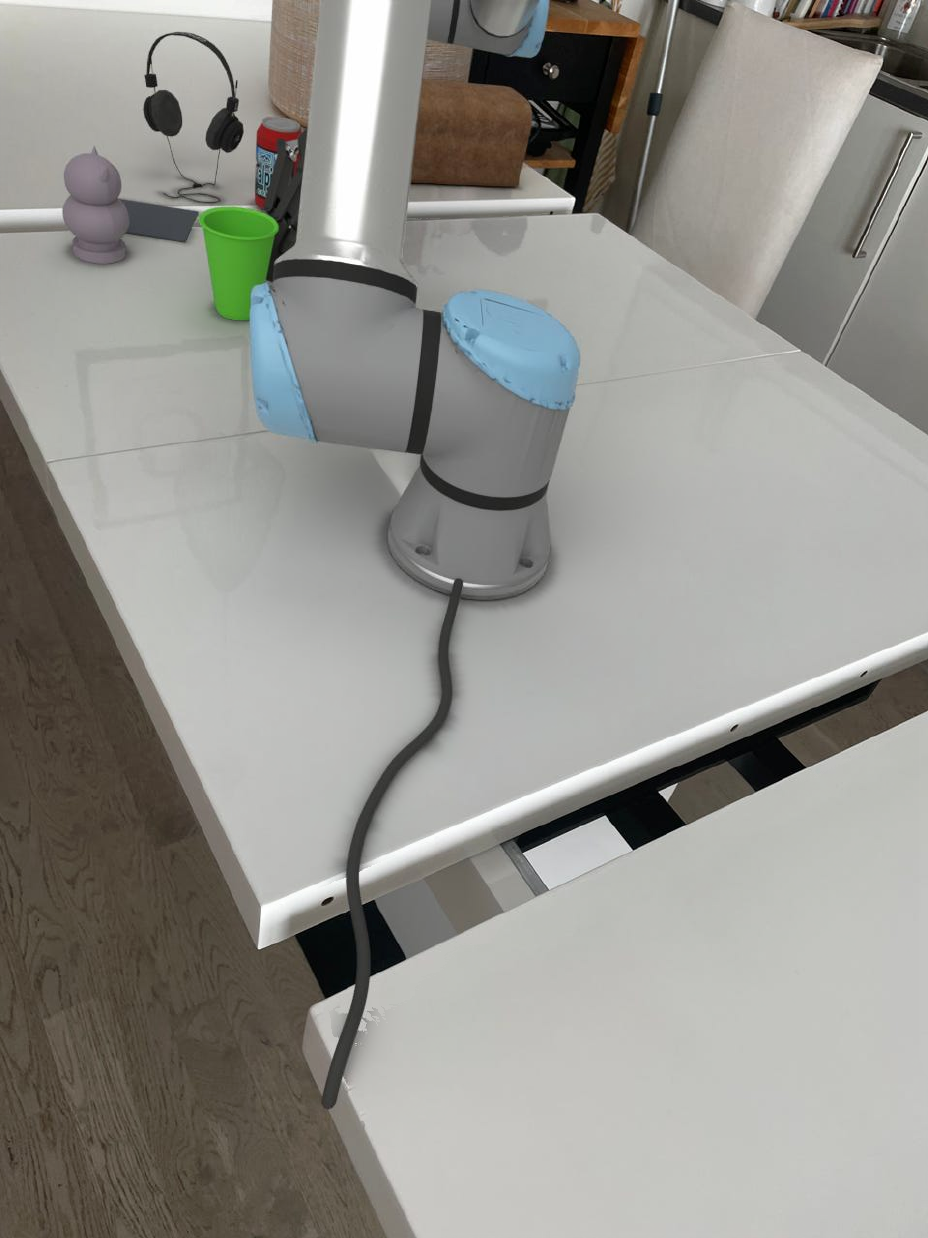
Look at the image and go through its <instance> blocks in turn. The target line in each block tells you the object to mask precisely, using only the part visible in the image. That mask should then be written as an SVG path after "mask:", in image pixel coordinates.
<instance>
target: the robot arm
mask: <svg viewBox="0 0 928 1238" xmlns="http://www.w3.org/2000/svg"><path fill="white" fill-rule="evenodd" d="M549 10H550V0H321V4H320V13H319V23H318V33H317V42H316V52H315V62H314V71H313V81H312V91H311V100H310V110H309V120H308V127H307V128H306V127H305V129H304V130H303V131H302V133H301V134H300V135H299V136H298V139H296V140H292V141H288V142H286V141H285V139H284V138H279V139H278V140H277V142H276V146H277V158H276V162H275V165H274V169H273V173H272V176H271V180H270V184H269V187H268V191H267V195H266V198H265V202H264V206H263V209H264V210H263V209H262V210H263V211H264V213H265V214H267V215H269V216H270V217H272V218H273V219H274V220H275V221H276V222H277V224H278V226H279V231H278V232H277V233H276V234H275V236H274V241H273V246H272V251H271V256H270V261H269V266H268V271H267V275H266V280H265V281H267V282H265V283H262V284H261V285H256V286H254V287H253V289H252V292H251V309H250V320H249V349H250V350H249V353H250V372H251V383H252V384H251V385H252V393H253V401H254V407H255V411H256V415H257V417H258V420H259V422H260V423H261V425H262V426H263V427H264V428H265V429H266V430H267V431H268V432H271V433H273V434H276V435H279V436H286V437H289V438H290V437H291V438H297V439H301V440H306V441H309V442H310V443H312V444H318V443H326V444H333V445H340V446H341V445H342V446H350V447H357V448H365V449H372V450H380V451H388V452H396V453H403V454H405V453H406V454H414V455H420V460H419V465H418V467H417V469H416V470H415V472H414V474H413V476H412V477H411V479H410V480H409V483H408V484H407V485H406V488H405V489H404V491H403V492H402V494H401V497H400V498H399V499H398V501H397V503H396V505H395V506H394V508H393V510H392V512H391V515H390V518H389V524H388V525H389V526H388V532H387V544H388V548H389V551H390V553H391V555H392V557H393V559H394V561H395V562H396V563H397V564H398V565H399V567H400V568H401V569H402V570H403V571H404V572H405V573H406V574H408V575H409V576H410V577H412V578H413V579H414V580H416V581H417V582H418V583H420V584H422V585H424V586H426V587H428V588H429V589H432V590H435V591H436V592H439V593H440V592H441V593H443V594H445V595H449V600H448V604H447V606H446V607H447V608H446V612H445V615H444V618H443V622H442V626H441V629H440V634H439V639H438V646H437V647H438V649H437V658H438V659H437V660H438V667H439V674H440V675H439V676H440V682H441V683H440V684H441V697H440V702H439V705H438V708H437V710H436V712H435V715H434V716H433V718H432V720H431V721H430V722H429V724H428V725H427V726H426V727H425V728H424V729H423V730H422V731H421V732H420V733H419V734H418V735H417V736H415V738H414V739H412V741H410V742H409V743H408V744H406V745H405V746H404V748H402V750H400V752H398V753H397V755H395V757H393V759H392V760H391V761H390V763H389V764H388V765H387V766H386V768H385V769H384V771H383V772H382V773H381V775H380V777H379V779H378V781H377V782H376V784H375V785H374V787H373V789H372V791H371V792H370V794H369V795H368V798H367V799H366V801H365V804H363V807H362V810H361V812H360V814H359V817H358V819H357V821H356V824H355V827H354V830H353V832H352V833H353V834H352V837H351V840H350V845H349V850H348V855H347V860H346V869H345V870H346V871H345V886H346V894H347V895H346V896H347V897H346V898H347V903H348V908H349V914H350V919H351V924H352V929H353V934H354V941H355V947H356V973H355V984H354V989H353V993H352V998H351V1002H350V1005H349V1009H348V1012H347V1016H346V1018H345V1021H344V1024H343V1026H342V1029H341V1033H340V1035H339V1038H338V1040H337V1043H336V1046H335V1050H334V1053H333V1055H332V1057H331V1058H332V1059H331V1062H330V1064H329V1069H328V1072H327V1075H326V1079H325V1083H324V1087H323V1091H322V1095H321V1105H322V1107H323V1109H325V1110H328V1111H329V1110H331V1109H333V1108H334V1107H335V1106H336V1104H337V1102H338V1097H339V1093H340V1089H341V1085H342V1081H343V1077H344V1074H345V1071H346V1070H345V1069H346V1067H347V1063H348V1061H349V1057H350V1055H351V1051H352V1048H353V1046H354V1042H355V1039H356V1036H357V1034H358V1031H359V1028H360V1026H361V1025H360V1024H361V1022H362V1019H363V1016H364V1012H365V1008H366V1004H367V999H368V995H369V990H370V982H371V968H372V960H371V945H370V937H369V932H368V931H369V930H368V926H367V921H366V917H365V911H364V908H363V907H364V906H363V902H362V897H361V890H360V889H361V888H360V868H361V859H362V853H363V848H364V844H365V840H366V836H367V832H368V829H369V827H370V823H371V821H372V819H373V816H374V814H375V812H376V810H377V808H378V806H379V804H380V802H381V801H382V798H383V796H384V795H385V793H386V791H387V789H388V788H389V786H390V784H391V783H392V781H393V779H394V778H395V776H396V775H397V773H398V772H399V771H400V769H402V767H403V766H404V765H405V763H407V762H408V760H409V759H410V758H412V757H413V756H414V755H415V754H416V753H417V752H418V751H419V750H420V749H422V747H424V746H425V745H426V744H427V743H428V742H429V741H430V740H431V739H433V737H434V736H435V735H436V733H438V731H439V730H440V728H441V727H442V725H443V724H444V723H445V721H446V719H447V717H448V714H449V712H450V709H451V705H452V700H453V682H452V681H453V680H452V674H451V669H450V668H451V667H450V661H449V648H450V647H449V646H450V639H451V634H452V630H453V627H454V622H455V620H456V616H457V611H458V609H459V608H458V607H459V604H460V599H468V600H476V601H477V600H479V601H484V600H485V601H490V600H500V599H501V600H502V599H507V598H511V597H514V596H517V595H520V594H522V593H525V592H526V591H528V590H530V589H531V588H533V587H535V585H536V584H538V583H539V581H540V580H542V579H543V576H544V574H545V572H546V570H547V567H548V563H549V559H550V556H551V552H552V538H551V528H550V518H549V508H548V497H547V496H548V495H547V493H548V489H549V485H550V481H551V478H552V475H553V471H554V468H555V464H556V460H557V457H558V453H559V449H560V446H561V443H562V439H563V435H564V432H565V428H566V424H567V421H568V418H569V413H570V410H571V407H573V405H574V403H575V401H576V390H577V383H578V379H579V373H580V367H581V351H580V348H579V344H578V343H577V340H576V339H575V337H574V336H573V334H572V333H571V331H570V330H569V329H568V328H567V327H566V326H565V325H564V324H563V323H562V322H560V321H559V320H558V319H557V318H556V317H554V316H552V314H550V313H549V312H548V311H546V310H544V309H542V308H540V307H539V306H536V305H535V304H533V303H530V302H528V301H526V300H523V299H521V298H518V297H515V296H511V295H510V294H505V293H502V292H497V291H493V290H486V289H473V290H472V291H469V290H462V291H459V292H457V293H455V294H453V295H452V296H450V298H449V299H448V300H447V302H446V303H445V304H444V306H443V308H442V311H435V310H429V309H422V308H418V307H417V306H416V303H417V295H418V282H417V280H416V279H415V278H414V277H413V275H412V274H411V272H410V271H409V270H408V269H407V267H406V266H405V264H404V261H403V260H404V259H403V254H404V253H403V252H404V246H405V245H404V244H405V237H406V236H405V235H406V229H407V218H408V211H409V210H408V209H409V203H410V192H411V184H412V183H411V175H412V167H413V158H414V149H415V140H416V132H417V123H418V114H419V105H420V97H421V88H422V79H423V70H424V61H425V53H426V44H427V40H433V41H438V42H444V43H449V44H454V45H459V46H464V47H469V48H473V49H474V50H480V51H484V52H489V53H494V54H499V55H502V56H505V57H508V58H510V57H511V58H512V57H520V58H527V59H529V58H530V59H531V58H533V57H536V56H537V55H538V53H539V52H540V50H541V48H542V44H543V41H544V38H545V33H546V29H547V24H548V23H547V22H548V16H549ZM298 152H299V157H300V159H299V161H298V163H297V165H296V172H295V174H294V176H293V178H292V180H291V182H290V184H289V181H290V178H291V174H292V170H293V161H296V160H297V158H296V157H297V153H298ZM269 282H270V283H271V285H270V283H269Z"/></svg>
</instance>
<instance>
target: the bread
mask: <svg viewBox="0 0 928 1238" xmlns="http://www.w3.org/2000/svg"><path fill="white" fill-rule="evenodd" d="M532 126H533V111H532V106H531V103H530V102H529V101H528V100H527V98H526V97H524V96H523V95H522V94H521V93H519V92H518V91H517V90H516V89H514V88H513V87H510V86H505V85H497V84H495V85H494V84H482V83H474V82H473V83H472V82H468V83H465V82H456V81H441V80H431V79H422V88H421V97H420V105H419V114H418V123H417V132H416V140H415V149H414V158H413V167H412V175H411V184H437V185H457V186H458V185H460V186H461V185H462V186H484V187H485V186H488V187H520V180H521V174H522V169H523V165H524V160H525V156H526V152H527V148H528V142H529V138H530V134H531V129H532Z"/></svg>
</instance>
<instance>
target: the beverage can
mask: <svg viewBox="0 0 928 1238" xmlns="http://www.w3.org/2000/svg"><path fill="white" fill-rule="evenodd" d="M302 132H303V131H302V128H301V125H300V124H299V123H298V122H296V121H294V120H291V119H290V118H288V117H282V116H266V117H263V118H262V119H261V123H260V125H259V126H258V129H257V130H256V140H255V141H256V143H255V172H254V173H255V174H254V175H255V177H254V202H255V204H256V205H257V206H259V207H260V208H261V209H262V210H263V211H264V209H263V206H264V202H265V198H266V195H267V191H268V187H269V184H270V180H271V176H272V173H273V169H274V165H275V162H276V158H277V146H276V142H277V140H278V139H279V138H284V139H285V141H286V142H288V141H292V140H296V139H298V136H299V135H300V134H301V133H302ZM296 158H297V160H296V161H293V170H292V174H291V178H290V181H289V184H290V182H291V180H292V178H293V176H294V174H295V172H296V165H297V163H298V161H299V159H300V157H299V152H298V153H297V157H296Z"/></svg>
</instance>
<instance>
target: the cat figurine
mask: <svg viewBox="0 0 928 1238" xmlns="http://www.w3.org/2000/svg"><path fill="white" fill-rule="evenodd" d="M63 180H64V186H65V189H66V191H67V192H68V194H69V195H68V197H67V198H66V199H65V201H64V203H63V205H62V210H61V211H62V220H63V223H64V225H65V226H66V228H67V229H68V230H69V232H71V234H72V235H74V237H73V239H72V241H71V242H72V252H73V255H74V256H75V257H76V258H77V259H79V260H81V261H83V262H86V263H91V264H99V265H106V264H107V265H108V264H115V263H118V262H121V261H123V260H125V258H126V257H127V254H126V253H127V251H126V242H125V240H123V239H122V238H123V237H124V235H125V234H127V233H126V231H127V229H128V227H129V215H128V211H127V209H126V207H125V205H124V204H123V203H122V202H121V201H120V200H119V199H120V198H119V196H120V194H121V191H122V179H121V176H120V172H119V170H118V169H117V168H116V166H115V165H114V164H113V163H112V162H111V161H110V160H108V159H107V158H105V157H104V156H101V155H99V153H98V151H97V148H96V146H95V145H93V146H92V149H91V152H90V153H88V152H86V153H80V154H78V155H76V156H74V157H72V158H71V159H70V160H69V161H68V162H67V164H66V165H65V167H64V170H63Z"/></svg>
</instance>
